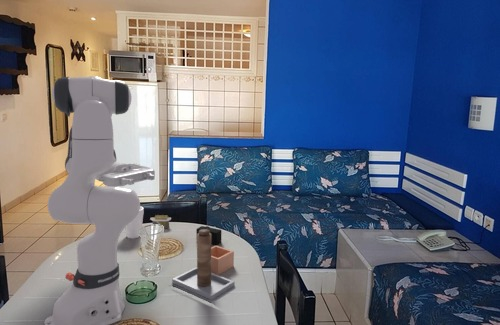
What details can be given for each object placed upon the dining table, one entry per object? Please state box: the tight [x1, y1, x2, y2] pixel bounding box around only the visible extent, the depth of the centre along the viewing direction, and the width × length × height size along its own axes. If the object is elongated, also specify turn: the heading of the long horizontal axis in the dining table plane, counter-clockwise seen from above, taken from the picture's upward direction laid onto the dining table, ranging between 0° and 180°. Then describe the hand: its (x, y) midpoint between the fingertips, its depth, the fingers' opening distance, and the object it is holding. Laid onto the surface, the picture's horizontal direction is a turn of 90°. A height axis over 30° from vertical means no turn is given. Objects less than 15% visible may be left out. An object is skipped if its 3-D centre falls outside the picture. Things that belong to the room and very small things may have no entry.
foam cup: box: [124, 205, 145, 239], centre depth 179 cm, size 10×9×13 cm
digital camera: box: [195, 225, 222, 246], centre depth 173 cm, size 10×5×7 cm, turn 65°
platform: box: [149, 214, 172, 229], centre depth 191 cm, size 12×18×7 cm, turn 93°
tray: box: [171, 266, 236, 303], centre depth 135 cm, size 12×18×2 cm, turn 54°
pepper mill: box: [196, 229, 212, 287], centre depth 134 cm, size 5×5×19 cm
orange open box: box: [211, 245, 235, 276], centre depth 148 cm, size 9×9×7 cm
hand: (143, 180), depth 144 cm, fingers open, 8 cm apart
